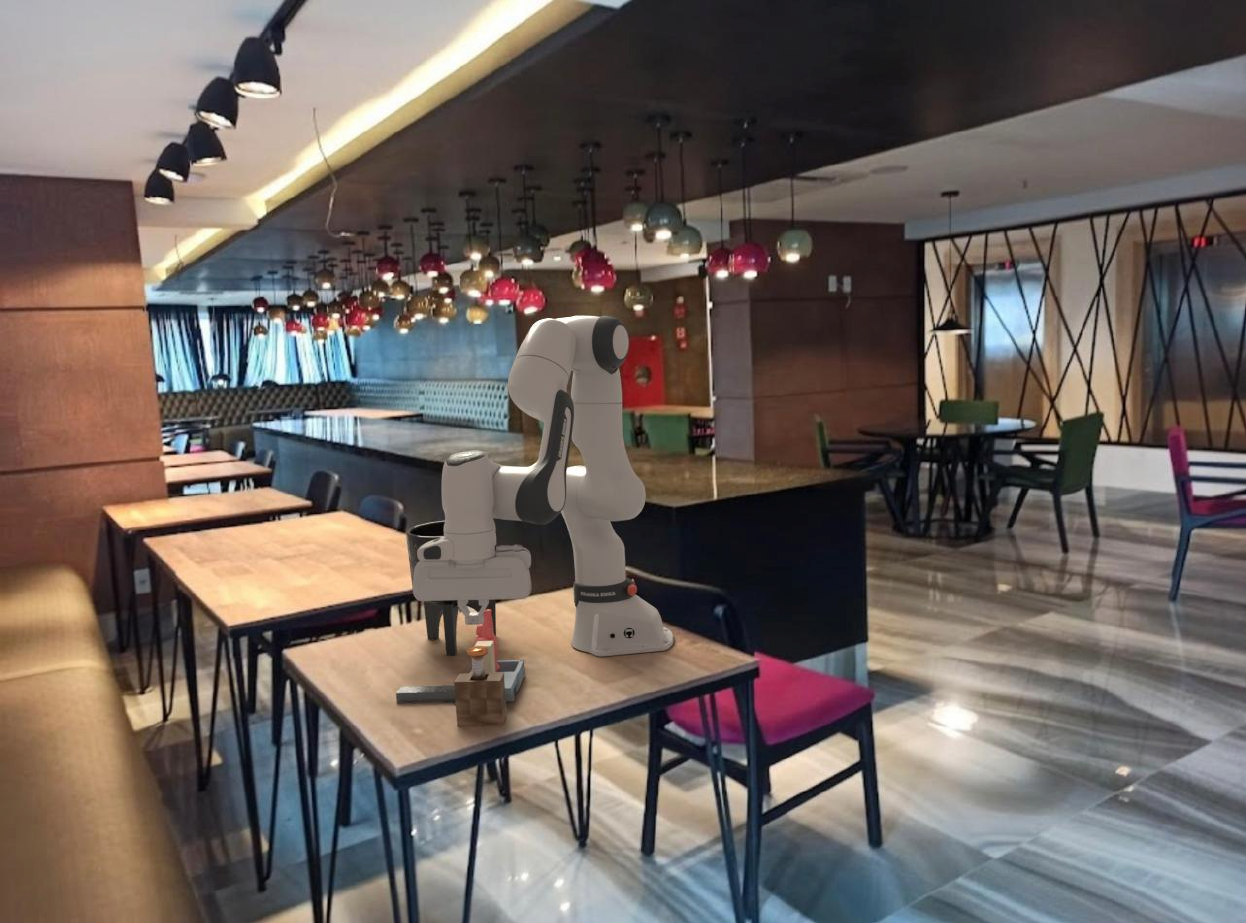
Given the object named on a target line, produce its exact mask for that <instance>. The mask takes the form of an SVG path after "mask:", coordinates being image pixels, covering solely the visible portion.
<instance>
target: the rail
mask: <svg viewBox="0 0 1246 923" xmlns="http://www.w3.org/2000/svg"><path fill="white" fill-rule="evenodd" d="M395 696H396V704H412V703H413V704H417V703H420V704H421V703H422V704H423V703H452V702H455V703H456V700H455V686H454V685H429V686H428V685H427V686H426V685H425V686H423V685H422V686H419V685H418V686H399V689H398V690H396V692H395ZM515 696H516V692H515V687H514V697H515Z"/></svg>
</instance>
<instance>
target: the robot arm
mask: <svg viewBox="0 0 1246 923" xmlns="http://www.w3.org/2000/svg"><path fill="white" fill-rule="evenodd" d="M629 349H630V336H629V331H628V329H627V326H626V325H625V324H624V323H623V321H622V320H621V319H619V318H616V317H613V316H607V315H601V316H595V315H574V316H568V317H559V318H543V319H540V320H538V321H536V322H535V323H534V324H532V326H531V327H530V329H528V332H527V333H526V335H525V338H524V339H523V341H522V343H521V345H520V347H519V349H518V351H517V354H516V355H515V359H514V361H513V363H512V366H511V369H510V371H509V375H508V378H507V391H508V394H509V396H510V399H511V400H512V402H513V403H514V405H515V406H517V408H518V409H519V410H520V411H522V412H523V413H524V414H526V415H527V416H529V417H532V418H533V419H535V420H538V421H540V422H542V423H543V430H542V434H541V435H542V436H541V437H542V438H541V442H540V448H539V454H538V459H537V461H535V463H533V464H532V465H529V466H510V465H502V464H500V463H497V462H495V461H493V460H491V459H490V458H489V455H488V454H487V452H485V451H482V450H466V451H460V452H456V453H453V454H451V455H450V456H448V457H447V458H446V459H445V460H444V463H443V467H442V472H441V504H442V505H441V506H442V510H443V512H444V521H445V524H444V537H441V538H437V539H435V540H432V541H429V542H427V543H425V544H424V545H422V546H421V547H420V548H419V549H418V551H417V557H418V559H419V560H421V561H419V562H418V563H417V565H416V566H415V569H414V577H413V588H412V593H413V596H414V597H415V599H416V600H417V601H418V602H424V601H441V600H458V607H459V610H460V612H461V613H462V615H463V616H464V623H465V625H466V626H469V625H474V626H475V625H477V626H478V625H483V622H484V617H483V613H484V611H485V609H486V607H487V605H488V604H489V600H492V599H495V600H524V599H526V598H528V596H529V595H530V594H531V593H532V579H531V574H530V568H531V566H532V555H531V552H530V551H529V549H528V548H526V547H523V545H521V544H514V545H513V544H512V545H509V544H508V545H507V544H498V545H497V535H496V534H497V533H496V531H497V530H496V523H495V521H494V519H495V520H496V519H497V520H503V521H504V520H505V521H506V520H507V521H518V522H525V523H530V524H535V525H541V526H542V525H543V526H544V525H545V526H546V525H548V524H549V523H551V522H552V521H553V520H555V519H556V518H557V517H559V515H560V514H561V516H562V518H563V519H564V522H565V524H566V528H567V531H568V534H569V537H570V541H571V544H572V550H573V560H574V561H573V562H574V563H573V564H574V576H575V577H574V578H575V580H574V582H573V588H572V591H573V592H572V593H573V603H574V606H575V618H574V619H575V621H574V627H573V634H572V638H571V643H570V645H571V646H572V647H573V648H575V649H576V650H579V651H581V652H586V653H590V654H592V655H593V656H596V657H610V656H621V655H631V654H641V653H652V652H662V651H666V650H669V649H670V648H671V647H672V646H673V644H674V633H673V632H672V631H671V629H670V628H667V627H665V626H664V625H663V621H662V617H661V615H660V613H659V611H658V609H657V608H656V607H654V606H653V605H652V604H650V603H649V602H647V601H646V600H644V599H643V598H641V597H640V596H639V595H637V594H636V593H637V591H638V587H637V585H636V582H635V580H634V578H632V579H630V578H629V577H627V575H626V555H625V545H624V542H623V540H622V539H621V537H620V536H619V535H618V534H617V533H616V531H615V529H614V528H613V524H612V523H611V522H621V521H629V520H632V519H635V518H636V517H638V515H640V513H641V512H642V511H643V509H644V506H645V504H646V503H645V502H646V497H647V495H646V493H647V491H646V487H645V484H644V482H643V481H642V479H641V478H639V476H638V475H637V473H635V471H634V469H633V467H632V465H631V463H630V460H629V457H628V454H627V451H626V447H625V442H624V434H623V432H624V431H623V430H624V429H623V387H622V378H621V372H620V367H621V366H622V365H623V363H624V362H625V361H626V358H627V357H628V354H629ZM571 372H573V373H571ZM571 374H572V380H571V388H570V389H571V391H570V393H571V394H569V393H568V392H567V390H568V389H567V388H568V384H569V380H570V376H571ZM572 442H573V444H574V445H575V446H576V448H577V449H578V451H579V452H580V454H581V457H582V460H583V463H584V465H580V464H579V465H574V466H569V467H568V464H569V458H570V452H571V444H572ZM468 600H479V606H482V607H481V609H480V611H479V612H477V611H475V612H474V611H473V612H471V611H470V609H469V607H468V606H466V604H467V603H468Z"/></svg>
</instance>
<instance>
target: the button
mask: <svg viewBox="0 0 1246 923" xmlns="http://www.w3.org/2000/svg"><path fill="white" fill-rule="evenodd" d="M466 654H467V657H470V658H471V670H473V681H474V680H486V675H485V659H484V656H485V655H487V654H488V648H487V647H485V646H475V645H474V646H471V647H469V648H467V650H466Z"/></svg>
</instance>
